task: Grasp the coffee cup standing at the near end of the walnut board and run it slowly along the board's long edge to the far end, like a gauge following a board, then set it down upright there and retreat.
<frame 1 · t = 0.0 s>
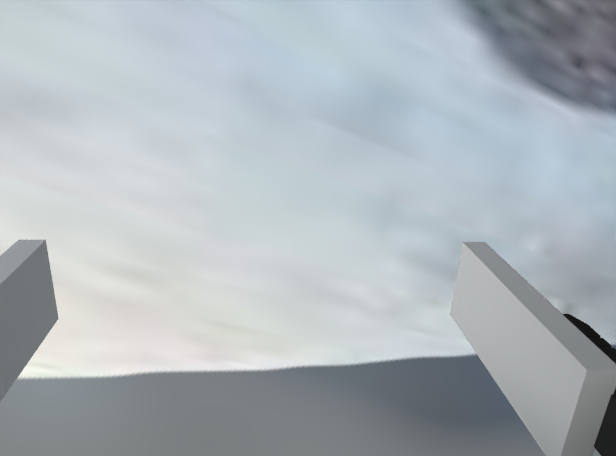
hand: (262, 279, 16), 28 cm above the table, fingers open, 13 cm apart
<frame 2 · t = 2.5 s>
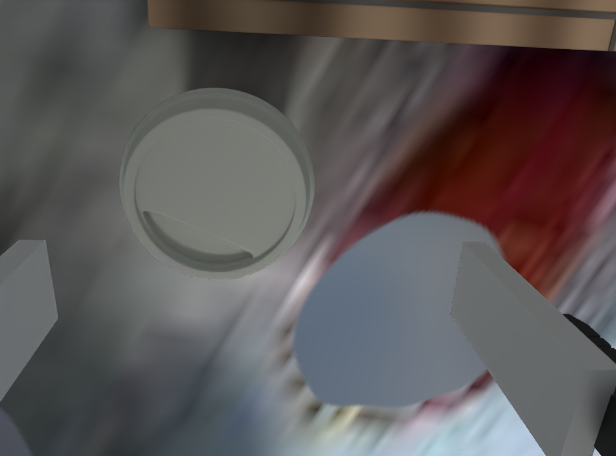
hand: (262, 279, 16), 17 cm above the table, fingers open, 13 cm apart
coffee cup: (230, 140, 31), on the table
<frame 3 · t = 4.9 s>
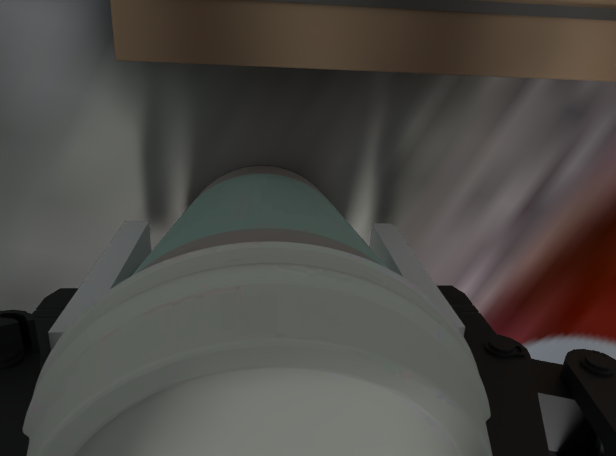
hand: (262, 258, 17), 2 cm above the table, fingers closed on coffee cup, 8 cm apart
coffee cup: (262, 237, 19), on the table, touching gripper
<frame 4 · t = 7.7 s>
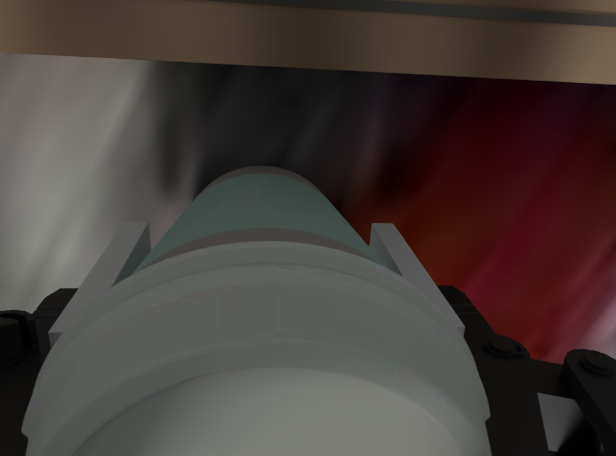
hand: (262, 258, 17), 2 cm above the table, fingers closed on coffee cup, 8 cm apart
coffee cup: (262, 237, 19), point 1 cm above the table, touching gripper
when the fingers open (2 cm above the table, at t = 10.9 s): coffee cup stays where it is, on the table.
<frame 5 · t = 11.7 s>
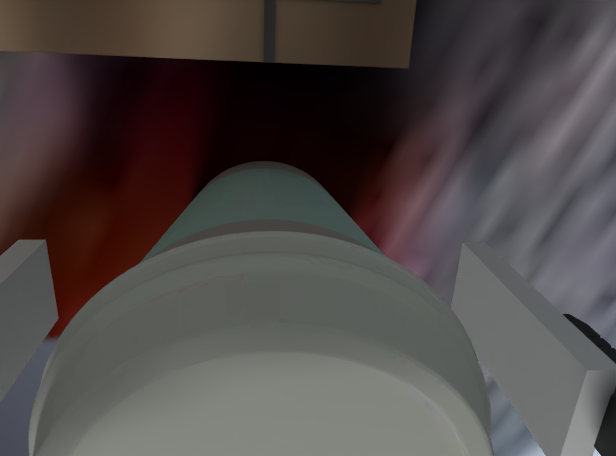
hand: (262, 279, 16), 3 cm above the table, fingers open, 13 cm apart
coffee cup: (264, 232, 19), on the table
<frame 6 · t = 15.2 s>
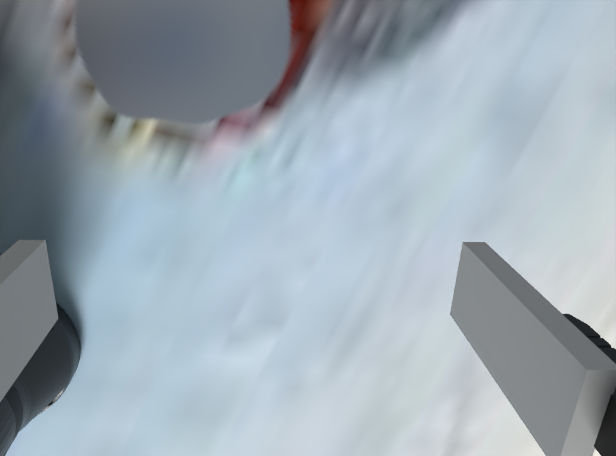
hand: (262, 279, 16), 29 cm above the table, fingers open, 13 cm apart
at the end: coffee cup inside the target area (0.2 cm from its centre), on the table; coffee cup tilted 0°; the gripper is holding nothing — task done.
